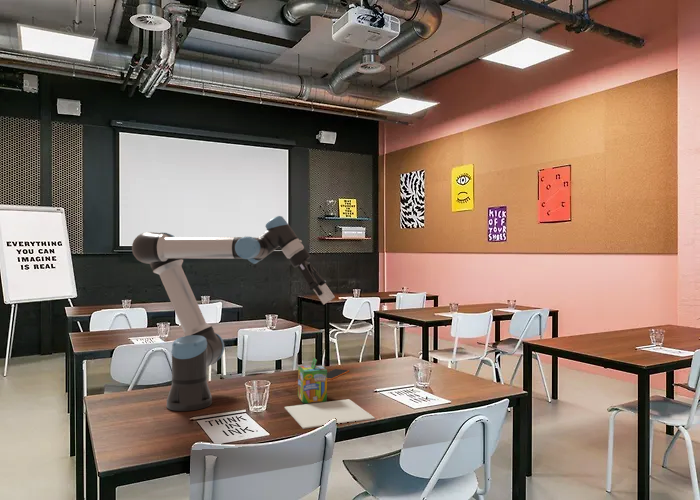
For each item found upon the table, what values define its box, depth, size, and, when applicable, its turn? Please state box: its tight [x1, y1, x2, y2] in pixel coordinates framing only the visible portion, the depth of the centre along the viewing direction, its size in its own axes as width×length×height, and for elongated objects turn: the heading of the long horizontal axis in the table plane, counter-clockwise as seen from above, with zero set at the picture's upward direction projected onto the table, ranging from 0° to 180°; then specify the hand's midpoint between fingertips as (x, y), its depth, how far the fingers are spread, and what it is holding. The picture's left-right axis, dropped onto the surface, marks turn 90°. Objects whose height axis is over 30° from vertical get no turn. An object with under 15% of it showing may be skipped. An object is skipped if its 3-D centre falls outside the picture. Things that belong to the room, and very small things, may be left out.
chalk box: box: [297, 357, 328, 405], centre depth 184 cm, size 9×9×15 cm
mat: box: [284, 398, 376, 430], centre depth 168 cm, size 24×22×1 cm
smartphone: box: [327, 368, 350, 381], centre depth 221 cm, size 8×17×1 cm, turn 153°
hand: (329, 300), depth 185 cm, fingers open, 13 cm apart
